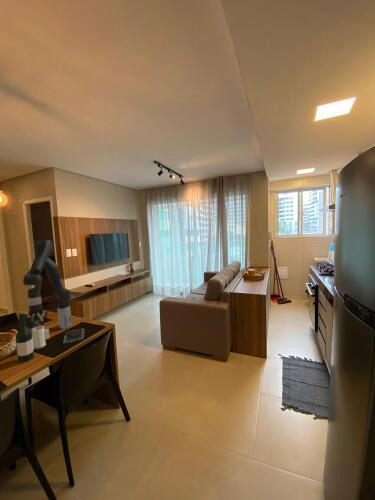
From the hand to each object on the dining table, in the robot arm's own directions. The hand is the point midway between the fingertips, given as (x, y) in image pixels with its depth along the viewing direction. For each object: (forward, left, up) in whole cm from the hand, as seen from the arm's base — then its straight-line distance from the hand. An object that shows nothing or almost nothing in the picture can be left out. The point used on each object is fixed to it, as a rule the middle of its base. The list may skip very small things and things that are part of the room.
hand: (37, 326), depth 149 cm
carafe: (-1, 0, -14) cm, 14 cm away
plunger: (0, 0, -9) cm, 9 cm away
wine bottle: (+6, +14, -15) cm, 21 cm away
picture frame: (-22, -2, -15) cm, 27 cm away
